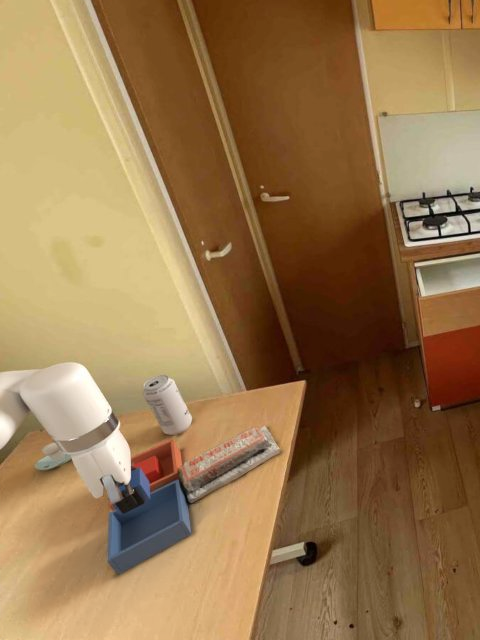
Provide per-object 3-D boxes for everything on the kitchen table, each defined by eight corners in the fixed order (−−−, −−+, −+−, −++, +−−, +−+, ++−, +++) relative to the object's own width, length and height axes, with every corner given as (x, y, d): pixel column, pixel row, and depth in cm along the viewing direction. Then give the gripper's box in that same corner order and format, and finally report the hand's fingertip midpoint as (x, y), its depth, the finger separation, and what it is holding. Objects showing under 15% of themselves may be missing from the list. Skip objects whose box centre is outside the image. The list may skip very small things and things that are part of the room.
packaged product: (182, 491, 86) (172, 460, 92) (190, 506, 88) (180, 474, 94) (276, 439, 97) (262, 414, 103) (281, 453, 99) (267, 428, 105)
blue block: (119, 514, 76) (108, 499, 74) (119, 496, 79) (108, 481, 77) (150, 499, 79) (140, 484, 77) (149, 482, 82) (139, 466, 80)
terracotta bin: (118, 519, 86) (108, 505, 84) (119, 479, 93) (110, 466, 91) (185, 486, 92) (177, 472, 90) (180, 451, 100) (173, 438, 98)
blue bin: (118, 574, 77) (107, 561, 75) (118, 526, 84) (108, 512, 82) (191, 534, 83) (183, 520, 81) (185, 492, 91) (178, 478, 89)
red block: (138, 495, 90) (129, 481, 88) (137, 479, 93) (129, 466, 91) (164, 482, 92) (156, 469, 90) (162, 468, 95) (155, 454, 93)
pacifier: (38, 463, 97) (40, 478, 93) (24, 444, 94) (25, 459, 91) (81, 442, 102) (84, 456, 98) (68, 424, 99) (71, 437, 96)
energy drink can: (198, 422, 107) (177, 378, 100) (172, 440, 102) (148, 395, 95) (185, 413, 110) (163, 370, 103) (159, 431, 105) (134, 386, 98)
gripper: (62, 410, 74) (109, 476, 83) (50, 479, 63) (106, 548, 71) (117, 390, 78) (156, 455, 87) (115, 451, 67) (161, 519, 75)
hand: (133, 496), depth 79 cm, fingers closed on blue block, 4 cm apart
